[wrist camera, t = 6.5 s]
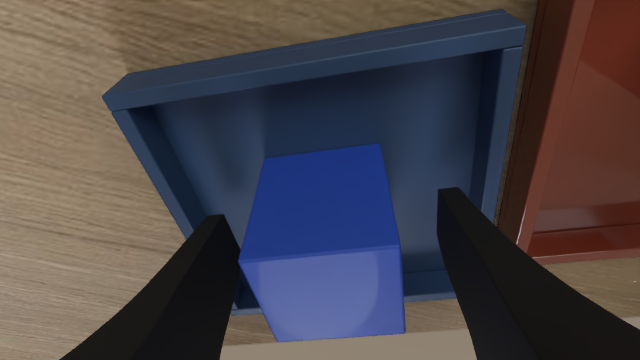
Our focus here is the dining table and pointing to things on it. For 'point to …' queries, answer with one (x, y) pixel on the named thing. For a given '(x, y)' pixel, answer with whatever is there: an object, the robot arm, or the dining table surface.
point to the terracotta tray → (578, 136)
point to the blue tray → (335, 125)
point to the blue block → (325, 246)
